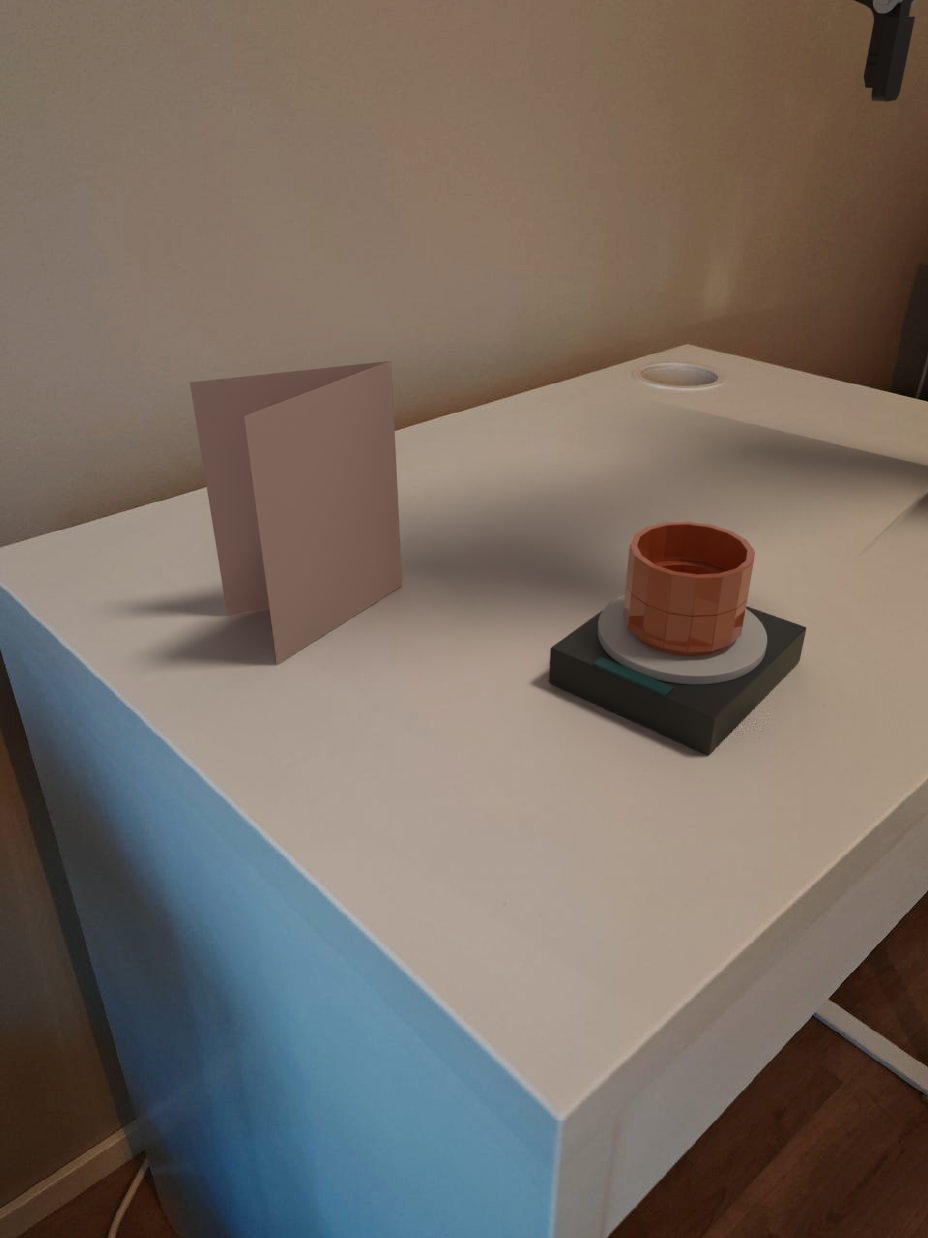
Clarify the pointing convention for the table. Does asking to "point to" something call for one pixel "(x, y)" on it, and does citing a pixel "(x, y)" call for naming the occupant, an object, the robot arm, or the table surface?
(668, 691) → the scale
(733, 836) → the table surface
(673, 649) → the orange cup
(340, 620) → the greeting card
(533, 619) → the table surface
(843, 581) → the table surface
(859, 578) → the table surface
